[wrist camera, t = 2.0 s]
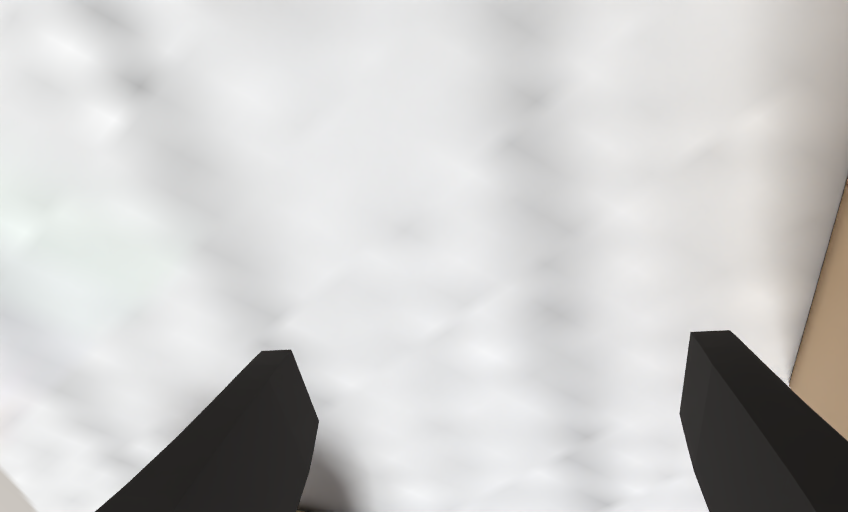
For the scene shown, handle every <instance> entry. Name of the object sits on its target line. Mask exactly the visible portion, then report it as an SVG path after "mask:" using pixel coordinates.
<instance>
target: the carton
mask: <svg viewBox="0 0 848 512" xmlns="http://www.w3.org/2000/svg"><path fill="white" fill-rule="evenodd" d="M789 386H790V388H791V390H792V391H793V392H794V393H795V394H797V395H798V396H799V397H800V398H801V399H802V400H803V401H804V402H805V403H806V404H807V405H808V406H809V407H810V408H812V409H813V410H814V411H815V412H816V413H817V414H818V415H819V416H820V417H822V418H823V419H824V420H825V421H826V422H827V423H828V424H829V425H831V426H832V427H833V428H834V429H835V430H836V431H837V432H838V433H839V434H841V435H842V436H843V437H844V438H845V439H846V440H847V441H848V178H847V182H846V186H845V189H844V193H843V196H842V200H841V203H840V207H839V210H838V214H837V217H836V221H835V224H834V228H833V231H832V235H831V239H830V242H829V246H828V249H827V253H826V256H825V260H824V263H823V267H822V270H821V274H820V277H819V281H818V284H817V288H816V291H815V295H814V299H813V302H812V306H811V309H810V313H809V316H808V320H807V323H806V327H805V330H804V334H803V337H802V341H801V344H800V348H799V352H798V355H797V359H796V362H795V366H794V369H793V373H792V376H791V380H790V383H789Z"/></svg>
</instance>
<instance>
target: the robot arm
mask: <svg viewBox="0 0 848 512" xmlns="http://www.w3.org/2000/svg"><path fill="white" fill-rule="evenodd" d="M680 418H681V422H682V426H683V430H684V434H685V438H686V442H687V446H688V450H689V454H690V458H691V461H692V465H693V469H694V472H695V475H696V478H697V480H698V483H699V486H700V488H701V491H702V494H703V496H704V499H705V501H706V504H707V507H708V509H709V512H848V441H847V440H846V439H845V438H844V437H843V436H842V435H841V434H839V433H838V432H837V431H836V430H835V429H834V428H833V427H832V426H831V425H829V424H828V423H827V422H826V421H825V420H824V419H823V418H822V417H820V416H819V415H818V414H817V413H816V412H815V411H814V410H813V409H812V408H810V407H809V406H808V405H807V404H806V403H805V402H804V401H803V400H802V399H801V398H800V397H799V396H798V395H797V394H795V393H794V392H793V391H792V390H791V389H790V388H789V387H788V386H787V385H786V384H785V383H784V382H783V381H782V380H781V379H780V378H779V377H778V376H777V375H776V374H775V373H773V372H772V371H771V370H770V369H769V368H768V367H767V366H766V365H765V364H764V363H763V362H762V361H761V360H760V359H759V358H758V357H757V356H756V355H755V354H754V353H753V352H752V351H751V350H750V349H749V348H748V347H747V346H746V345H745V344H744V343H743V342H742V341H741V340H740V339H739V338H738V337H737V336H736V335H734V334H733V333H732V332H731V331H730V330H725V331H703V332H691V333H690V341H689V348H688V355H687V363H686V370H685V377H684V385H683V392H682V400H681V407H680ZM318 423H319V420H318V417H317V415H316V412H315V410H314V407H313V405H312V402H311V399H310V397H309V394H308V392H307V389H306V387H305V384H304V381H303V379H302V376H301V374H300V371H299V369H298V366H297V363H296V361H295V358H294V356H293V353H292V351H291V350H274V351H261V352H260V353H259V354H258V355H257V356H256V357H255V358H254V359H253V360H252V361H251V362H250V363H249V364H248V365H247V366H246V367H245V368H244V369H243V370H242V371H241V372H240V373H239V374H238V375H237V376H236V377H235V378H234V379H233V380H232V381H231V382H230V384H229V385H228V386H227V387H226V388H225V389H224V390H223V391H222V392H221V393H220V394H219V395H218V396H217V397H216V398H215V399H214V400H213V401H212V402H211V403H210V404H209V405H208V406H207V407H206V408H205V409H204V410H203V411H202V412H201V413H200V414H199V415H198V416H197V417H196V418H195V419H194V420H193V421H192V422H191V423H190V424H189V425H188V426H187V427H186V428H185V429H184V430H183V431H182V432H181V433H180V434H179V435H178V436H177V437H176V438H175V439H174V440H173V441H172V442H171V443H170V444H169V445H168V446H167V447H166V448H165V449H164V450H163V451H162V452H161V453H159V454H158V455H157V456H156V457H155V458H154V459H153V460H152V461H151V462H150V463H149V464H148V465H147V466H146V467H145V468H143V469H142V470H141V471H140V472H139V473H138V474H137V475H136V476H135V477H134V478H133V479H132V480H131V481H130V482H129V483H127V484H126V485H125V486H124V487H123V488H122V489H121V490H120V491H118V492H117V493H116V494H115V495H114V496H113V497H112V498H110V499H109V500H108V501H107V502H106V503H105V504H103V505H102V506H101V507H100V508H99V509H97V510H96V511H95V512H296V511H297V508H298V505H299V501H300V498H301V495H302V492H303V489H304V486H305V483H306V480H307V477H308V473H309V469H310V465H311V460H312V455H313V451H314V445H315V440H316V434H317V429H318Z"/></svg>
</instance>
